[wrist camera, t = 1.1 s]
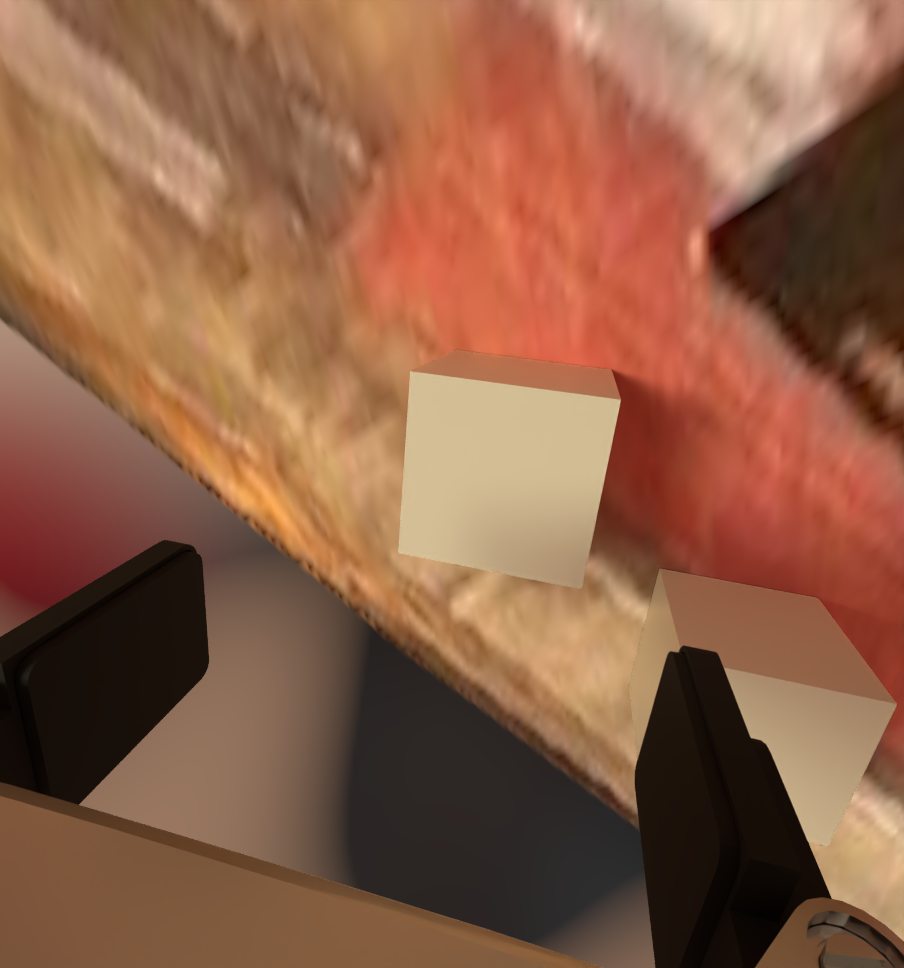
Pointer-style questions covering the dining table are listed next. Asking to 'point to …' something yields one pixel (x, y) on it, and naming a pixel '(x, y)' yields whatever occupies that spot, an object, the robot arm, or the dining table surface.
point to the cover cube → (506, 463)
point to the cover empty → (774, 684)
